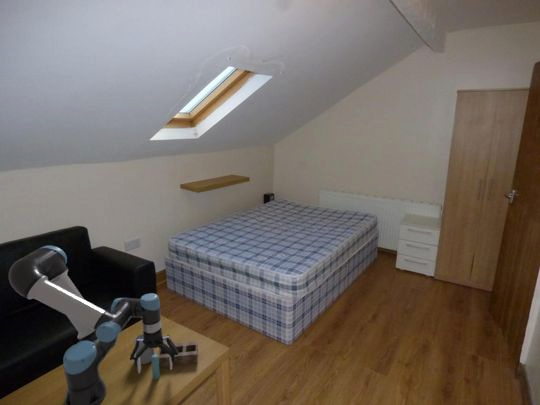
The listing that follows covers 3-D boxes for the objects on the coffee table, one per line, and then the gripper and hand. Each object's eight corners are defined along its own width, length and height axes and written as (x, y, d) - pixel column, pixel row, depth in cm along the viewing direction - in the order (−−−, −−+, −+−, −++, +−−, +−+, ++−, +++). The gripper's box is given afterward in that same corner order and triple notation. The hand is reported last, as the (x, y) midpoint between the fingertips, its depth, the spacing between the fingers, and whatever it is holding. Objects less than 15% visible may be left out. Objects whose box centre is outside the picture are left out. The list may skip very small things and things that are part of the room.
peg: (152, 379, 150) (150, 359, 147) (153, 374, 153) (151, 354, 150) (159, 379, 150) (157, 358, 147) (160, 374, 153) (158, 353, 150)
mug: (154, 362, 160) (152, 343, 157) (135, 365, 158) (133, 345, 155) (155, 345, 171) (154, 327, 168) (137, 348, 169) (135, 329, 166)
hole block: (158, 367, 157) (157, 358, 156) (160, 353, 166) (159, 345, 164) (197, 362, 161) (197, 354, 159) (197, 349, 169) (197, 341, 168)
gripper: (119, 337, 139) (124, 378, 145) (181, 331, 143) (183, 372, 149) (123, 325, 146) (128, 366, 152) (182, 320, 150) (184, 360, 156)
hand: (155, 369), depth 150 cm, fingers open, 13 cm apart
